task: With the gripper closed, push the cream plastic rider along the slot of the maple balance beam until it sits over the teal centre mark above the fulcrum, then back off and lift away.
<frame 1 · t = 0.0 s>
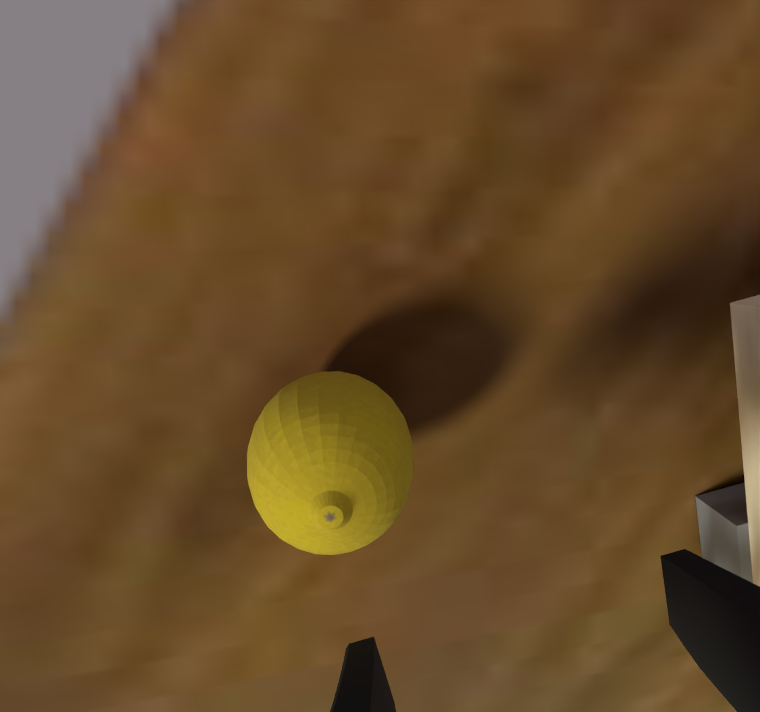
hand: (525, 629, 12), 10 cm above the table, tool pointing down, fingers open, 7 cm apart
lemon: (332, 412, 21), on the table
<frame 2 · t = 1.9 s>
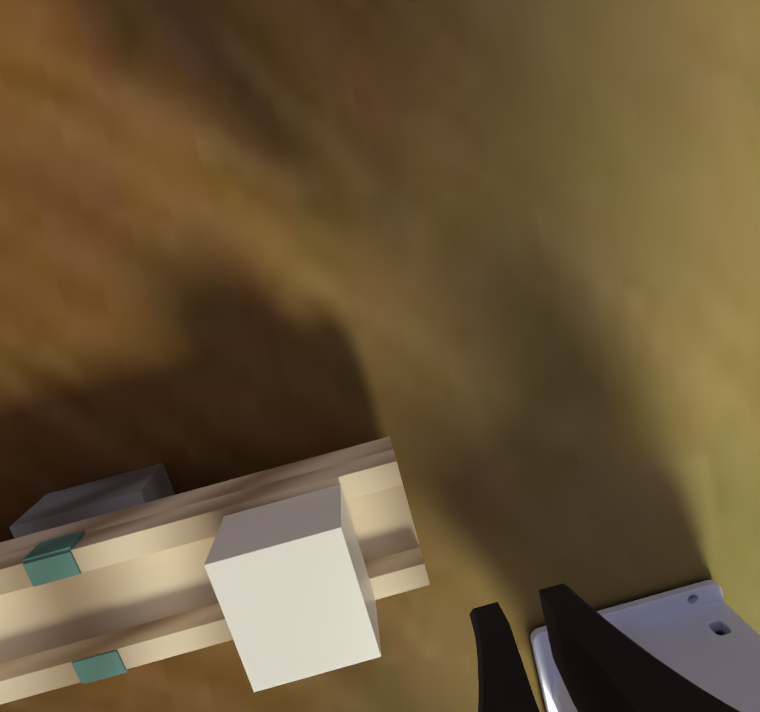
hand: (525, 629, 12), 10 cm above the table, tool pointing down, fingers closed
rider: (300, 572, 17), point 6 cm above the table, slide at 0.0 cm
beam: (130, 539, 22), on the table
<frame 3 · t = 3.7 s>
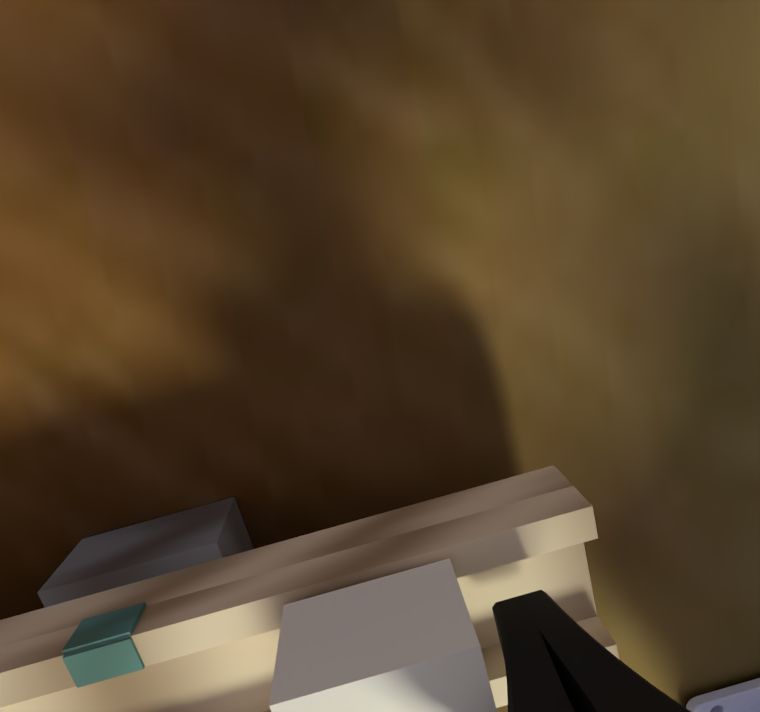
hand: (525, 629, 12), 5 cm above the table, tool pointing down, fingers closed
rider: (394, 686, 12), point 6 cm above the table, slide at 1.6 cm, touching gripper
beam: (190, 595, 17), on the table
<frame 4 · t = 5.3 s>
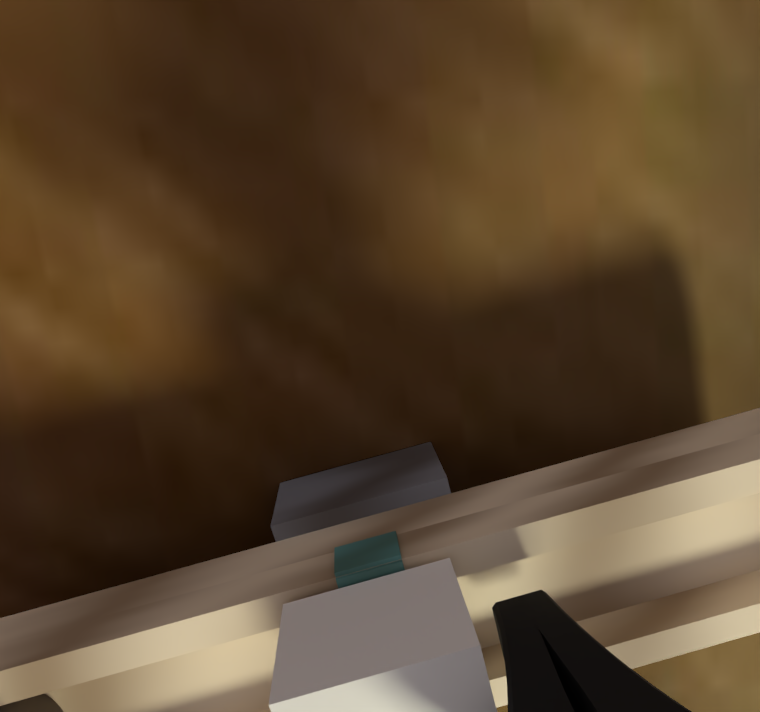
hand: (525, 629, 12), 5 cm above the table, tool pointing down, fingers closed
rider: (394, 686, 12), point 6 cm above the table, slide at 8.1 cm, touching gripper
beam: (378, 541, 17), on the table
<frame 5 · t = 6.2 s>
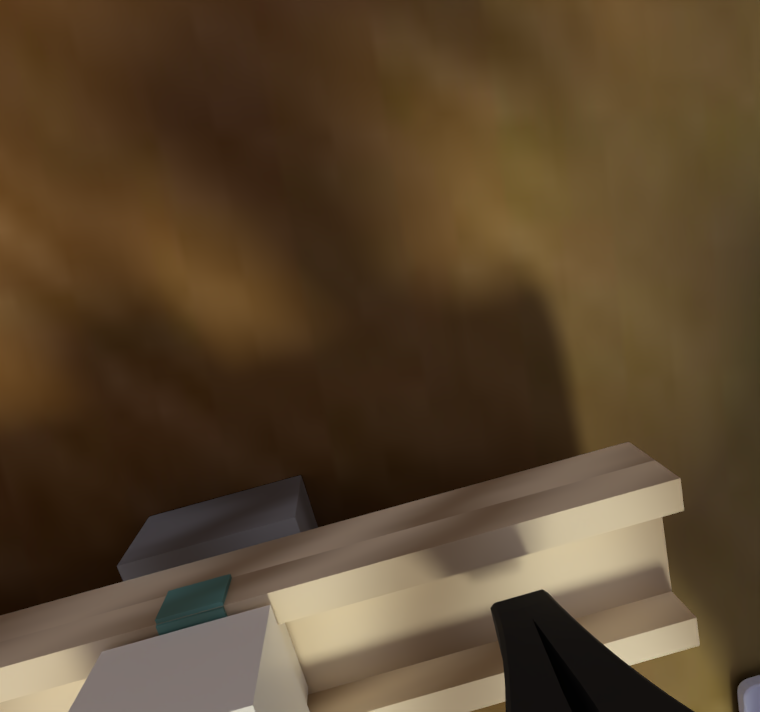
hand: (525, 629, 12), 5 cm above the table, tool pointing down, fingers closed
beam: (254, 573, 17), on the table
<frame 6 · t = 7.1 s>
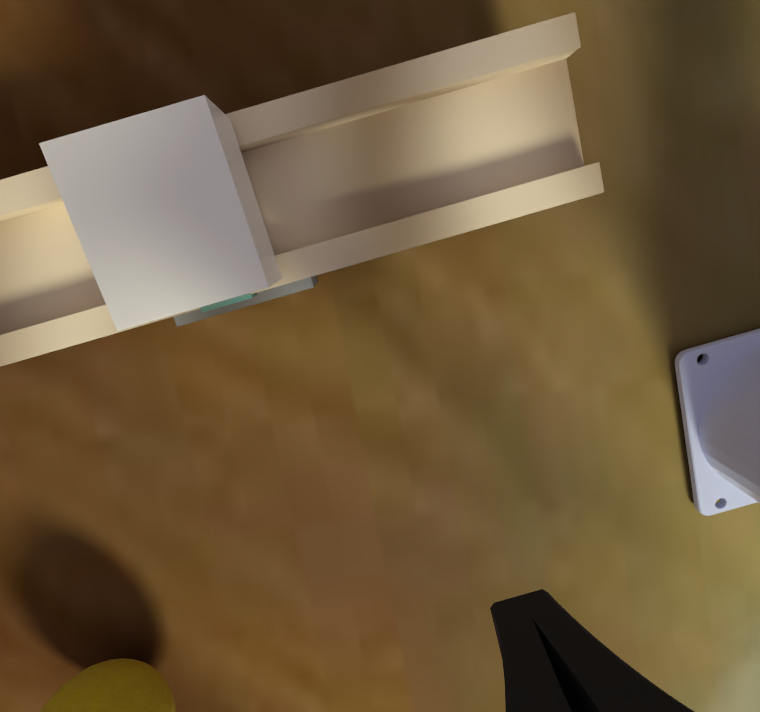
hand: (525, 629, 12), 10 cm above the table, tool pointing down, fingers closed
lemon: (140, 664, 24), on the table
rider: (183, 220, 14), point 6 cm above the table, slide at 8.1 cm
beam: (232, 223, 20), on the table
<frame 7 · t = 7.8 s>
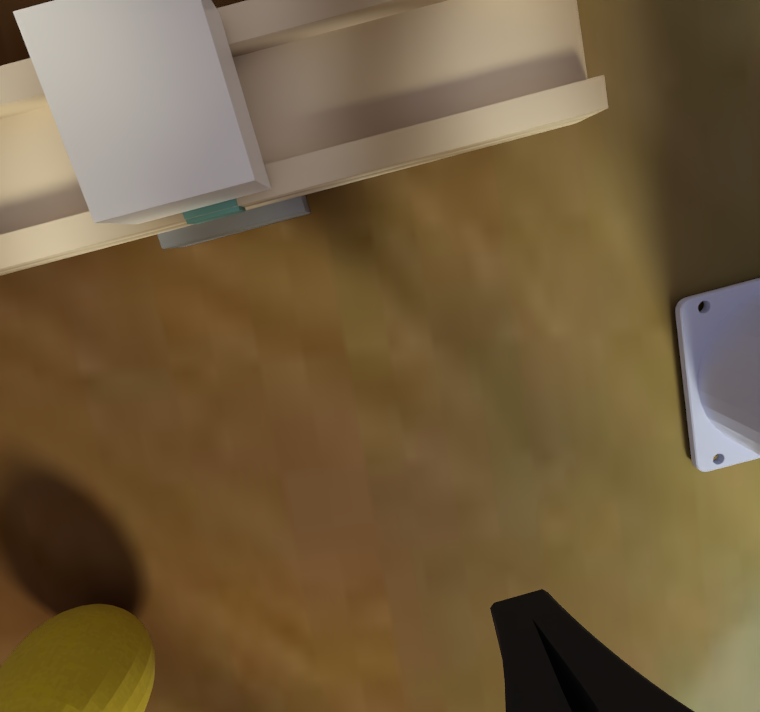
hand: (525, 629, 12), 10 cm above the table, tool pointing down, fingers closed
lemon: (120, 614, 24), on the table
rider: (167, 117, 13), point 6 cm above the table, slide at 8.1 cm
beam: (222, 149, 19), on the table
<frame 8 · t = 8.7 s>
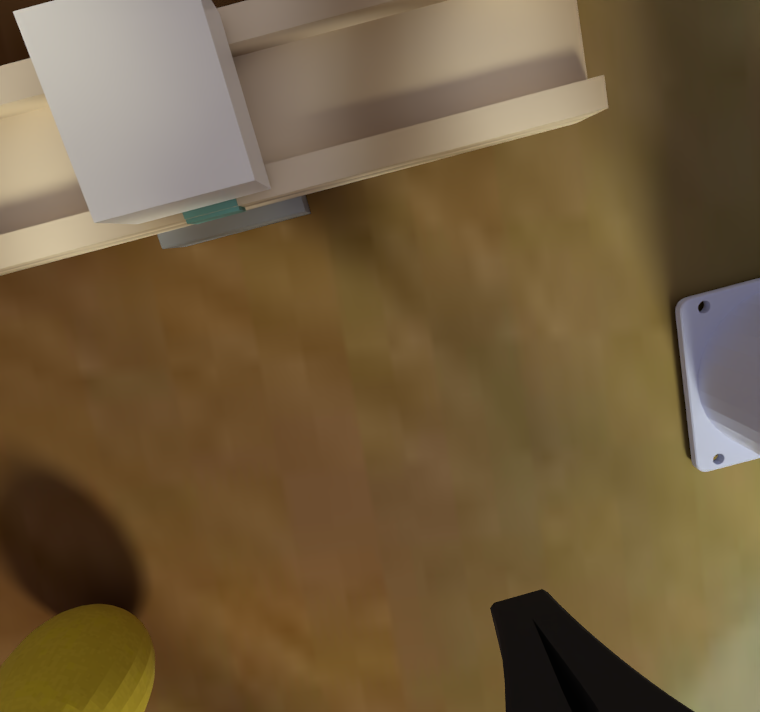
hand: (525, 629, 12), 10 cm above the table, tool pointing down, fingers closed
lemon: (120, 614, 24), on the table
rider: (167, 117, 13), point 6 cm above the table, slide at 8.1 cm
beam: (222, 149, 19), on the table
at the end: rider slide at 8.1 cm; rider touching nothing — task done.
